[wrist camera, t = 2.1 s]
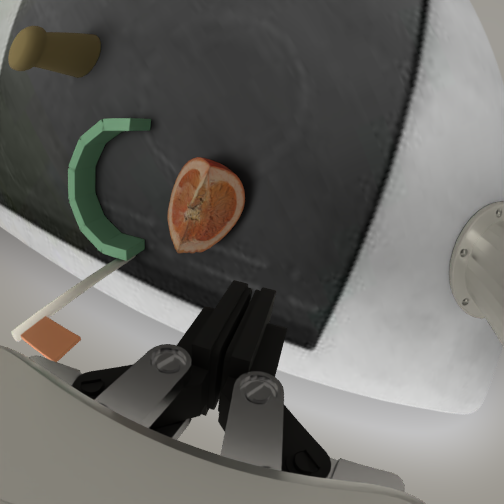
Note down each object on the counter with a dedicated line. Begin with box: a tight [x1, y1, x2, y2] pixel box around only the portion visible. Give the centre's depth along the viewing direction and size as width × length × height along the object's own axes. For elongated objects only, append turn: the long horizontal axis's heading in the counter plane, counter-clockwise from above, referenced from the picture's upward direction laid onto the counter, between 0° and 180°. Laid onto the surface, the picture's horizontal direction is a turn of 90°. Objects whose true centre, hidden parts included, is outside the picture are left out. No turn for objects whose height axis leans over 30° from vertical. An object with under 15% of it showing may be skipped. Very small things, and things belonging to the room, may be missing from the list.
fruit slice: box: [168, 157, 245, 253], centre depth 25 cm, size 8×7×5 cm
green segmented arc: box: [11, 118, 151, 362], centre depth 21 cm, size 12×16×18 cm
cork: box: [8, 26, 101, 78], centre depth 19 cm, size 6×6×11 cm
